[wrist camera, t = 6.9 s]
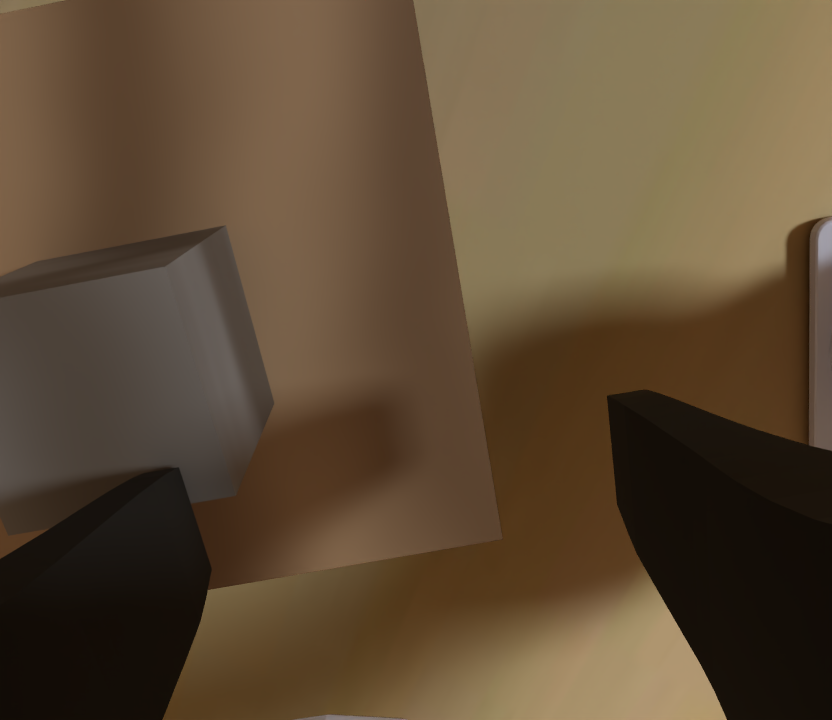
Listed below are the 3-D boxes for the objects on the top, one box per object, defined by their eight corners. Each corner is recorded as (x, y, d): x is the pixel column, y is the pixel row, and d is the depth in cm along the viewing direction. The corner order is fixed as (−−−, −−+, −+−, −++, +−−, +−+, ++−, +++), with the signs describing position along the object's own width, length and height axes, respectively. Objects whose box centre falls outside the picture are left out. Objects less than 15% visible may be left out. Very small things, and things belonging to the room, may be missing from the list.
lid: (401, -57, 14) (403, -143, 9) (496, 516, 18) (532, 661, 13) (-237, 74, 14) (-552, 57, 9) (5, 601, 19) (-128, 769, 14)
